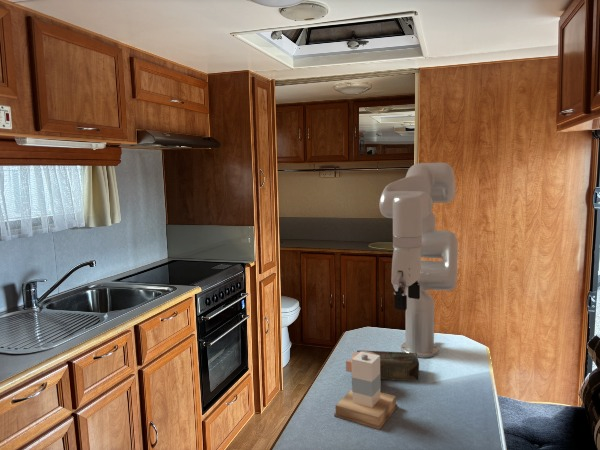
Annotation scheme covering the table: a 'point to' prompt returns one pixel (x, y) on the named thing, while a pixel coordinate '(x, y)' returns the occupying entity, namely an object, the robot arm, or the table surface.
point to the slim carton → (366, 379)
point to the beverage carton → (398, 365)
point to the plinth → (366, 410)
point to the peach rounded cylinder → (349, 363)
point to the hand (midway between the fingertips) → (407, 303)
